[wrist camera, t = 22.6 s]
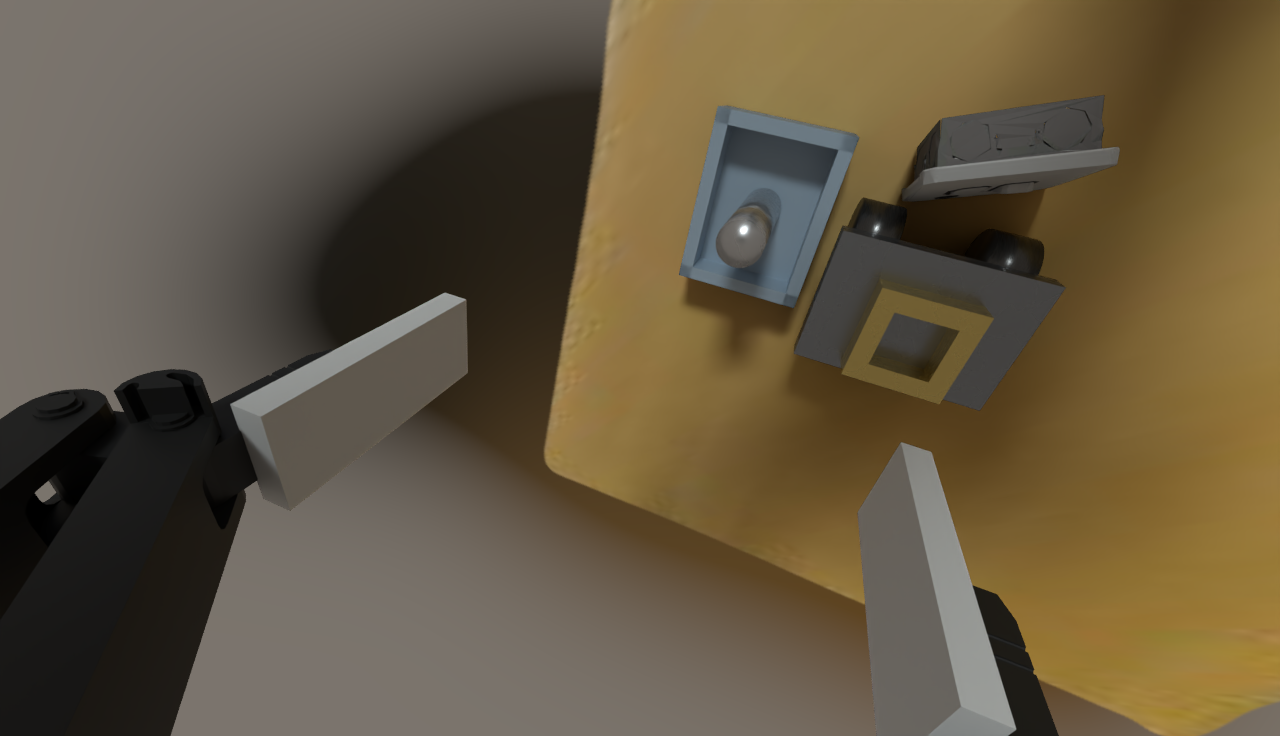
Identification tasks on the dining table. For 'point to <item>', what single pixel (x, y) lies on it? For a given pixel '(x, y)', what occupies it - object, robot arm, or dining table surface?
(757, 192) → the pin
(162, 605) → the robot arm
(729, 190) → the tray
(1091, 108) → the electrical switch
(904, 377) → the trolley
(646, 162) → the dining table surface
